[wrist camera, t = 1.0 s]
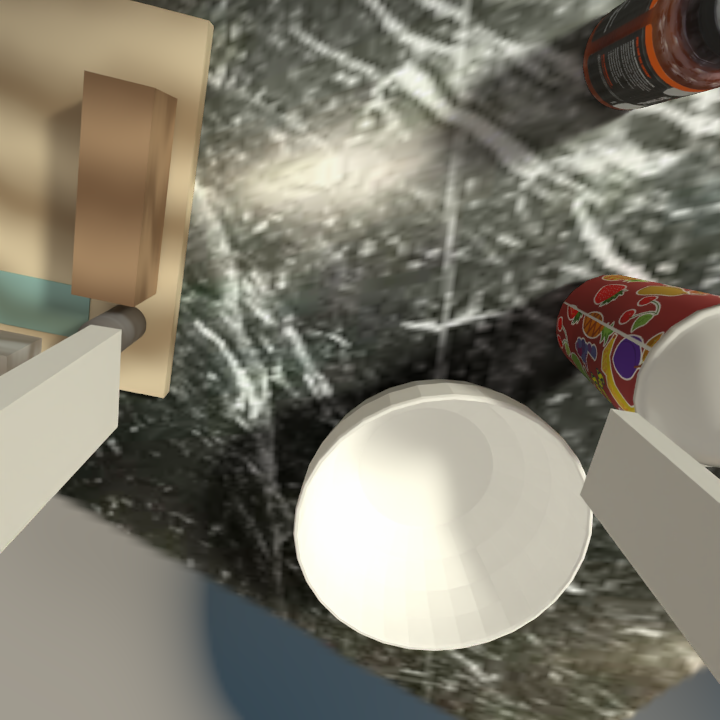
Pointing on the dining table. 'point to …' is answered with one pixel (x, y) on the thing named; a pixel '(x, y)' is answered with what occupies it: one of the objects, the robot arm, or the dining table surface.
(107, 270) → the leg
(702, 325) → the smoothie
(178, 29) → the board
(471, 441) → the bowl
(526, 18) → the dining table surface
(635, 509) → the robot arm
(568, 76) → the dining table surface
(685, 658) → the dining table surface
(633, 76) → the supplement bottle
